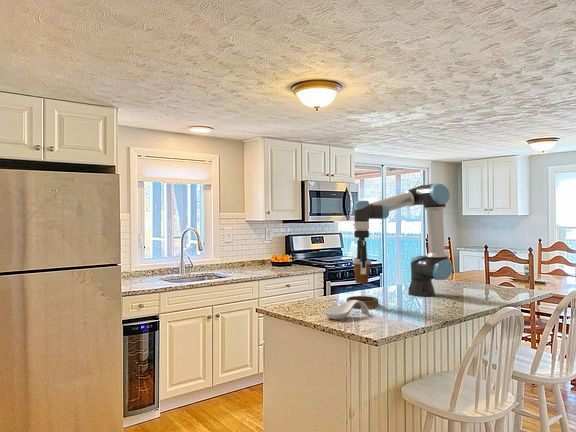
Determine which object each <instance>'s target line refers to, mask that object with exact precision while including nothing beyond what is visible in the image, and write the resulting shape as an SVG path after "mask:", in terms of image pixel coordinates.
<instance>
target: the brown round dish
mask: <svg viewBox="0 0 576 432" xmlns="http://www.w3.org/2000/svg"><path fill="white" fill-rule="evenodd" d="M351 300H358V301H362V302H364V303H365V304H366V306H367V308H368V310H371V309H376V308H379V307H380V303H379V298H378V297H376V296H375V297H374V296H370V295H356V296H349V297H347V298H346V302H348V301H351ZM352 309H360V310H361V305H360V304H359V303H356V304H355V305H354V306H353V308H352Z"/></svg>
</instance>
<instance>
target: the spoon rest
mask: <svg viewBox="0 0 576 432" xmlns="http://www.w3.org/2000/svg"><path fill="white" fill-rule="evenodd" d="M356 303H359V304H360V305H361V309H360V310H361V313H362V314H366V315H369V312H370V311H369V309H368V308H367V306H366V304H365V303H364V302H362V301H358V300H351V301H348V302H347V301H346V302H344V303H341V304H339V305H335V306H332V307H329V308H326V309H324V311H323V312H324V314H325V316H326V317H328V318H329V319H332V320H340V321H341V320H344V319H346V318H347V317H348V316H349V314H350V313H351V311H352V309H354V308H353V306H354V305H355V304H356Z"/></svg>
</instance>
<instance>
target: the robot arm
mask: <svg viewBox="0 0 576 432" xmlns="http://www.w3.org/2000/svg"><path fill="white" fill-rule="evenodd" d="M450 198H451V194H450V190H449V189H448V187H447V186H446V185H444V184H443V183H429V184H422V185H419V186H416V187H413V188H410V189H407V190H405V191H404V192H403V193H401V194H397V195H393V196H391V197H388V198H383V199H381V200H377V201H374V202H371V203H370V202H369V201H368V200H355V202H354V205H353V207H354V208H353V211H354V212H353V213H354V214H353V215H354V216H353V217H354V223H353V226H354V235H353V236H354V238H355V239H358V240H357V241H356V242H357V243H356V244H357V248H356V259H361V260H360V261H361V274H366V261H367V259H368V257H367V256H368V253H367V241H366V240H365V239H367V238H370V231H369V230H370V220H384V219H387V218H388V217H389V215H390V212H391V211H392V212H393V211H394V210H398V209H402V208H405V207H413V206H423V208H424V210H426V215H427V216H426V217H427V218H426V219H427V240H428V242H427V243H428V244H427V245H428V253H427V254H426V255H425V254H424V255H414V256H412V257H411V258H410V278H411V279H410V280H411V281H410V283H409V287H408V290H407V292H408V294H407V295H410V296H414V295H415V297H432V295H433V296H435V295H436V291H435V287H434V285H433V282H432V280H433V279H434V280H435V281H436V280H437V281H445V280H448V279H449V278H450V277H451V275H452V274H453V269H454V266H453V263H452V262H451V260H449V258H448V257H449V256H448V254H447V253H446V249H445V230H444V229H445V226H444V210H445V208H446V207H447V206H446V205H447V203H448V202H449V200H450Z"/></svg>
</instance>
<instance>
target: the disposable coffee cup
mask: <svg viewBox="0 0 576 432" xmlns="http://www.w3.org/2000/svg"><path fill="white" fill-rule="evenodd" d="M360 260H361V259H357V258H356V259H352V264H353V271H354V279H355V283H357V284H369V276H370V269H371V268H370V267H371V263H372V261H371V259H370V258H369V259H368V258H367V261H366V274H361V261H360Z"/></svg>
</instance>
